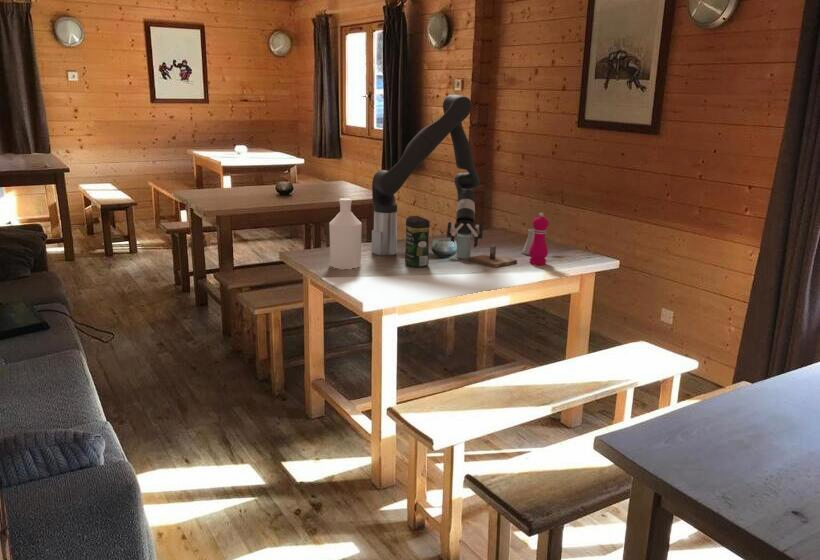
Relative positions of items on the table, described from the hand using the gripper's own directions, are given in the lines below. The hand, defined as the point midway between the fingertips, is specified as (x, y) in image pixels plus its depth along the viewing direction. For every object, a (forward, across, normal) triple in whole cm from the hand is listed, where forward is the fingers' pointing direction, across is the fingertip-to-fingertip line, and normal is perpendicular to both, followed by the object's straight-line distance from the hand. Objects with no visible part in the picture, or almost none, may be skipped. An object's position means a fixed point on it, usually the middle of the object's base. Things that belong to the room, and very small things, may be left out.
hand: (464, 246), depth 268 cm
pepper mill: (+6, +29, +1) cm, 30 cm away
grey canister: (+3, 0, +4) cm, 5 cm away
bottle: (+19, -44, -12) cm, 49 cm away
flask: (-6, +28, +13) cm, 31 cm away
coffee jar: (+14, -18, -7) cm, 24 cm away
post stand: (+7, +11, 0) cm, 13 cm away
